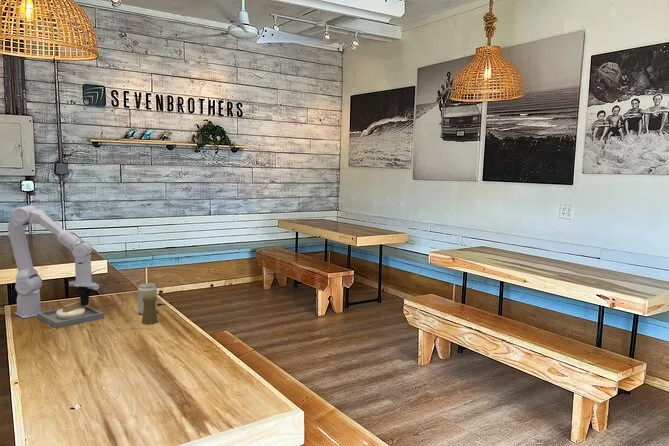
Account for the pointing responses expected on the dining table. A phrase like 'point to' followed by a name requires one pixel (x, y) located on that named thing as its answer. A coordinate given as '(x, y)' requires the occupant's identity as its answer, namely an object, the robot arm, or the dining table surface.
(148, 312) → the cork
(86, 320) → the slate tray
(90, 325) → the dining table surface
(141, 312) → the can
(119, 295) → the dining table surface
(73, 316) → the dial
